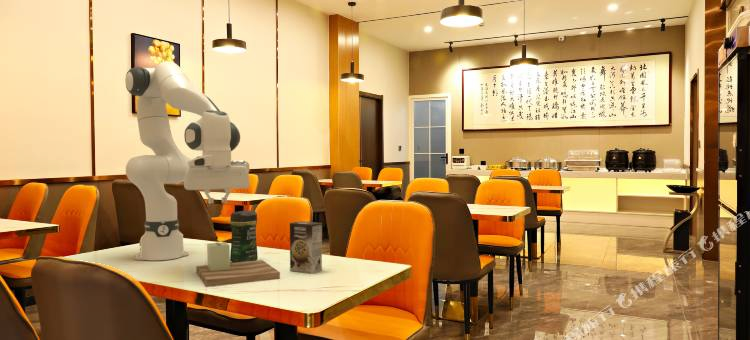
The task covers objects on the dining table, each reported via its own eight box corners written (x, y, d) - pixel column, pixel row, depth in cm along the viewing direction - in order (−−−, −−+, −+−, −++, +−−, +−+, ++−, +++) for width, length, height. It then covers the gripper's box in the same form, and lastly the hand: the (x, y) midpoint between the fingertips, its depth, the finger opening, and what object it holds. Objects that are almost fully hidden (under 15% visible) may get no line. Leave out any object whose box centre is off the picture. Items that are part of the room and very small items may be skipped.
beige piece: (207, 267, 171) (207, 243, 170) (226, 265, 173) (225, 241, 173) (210, 271, 165) (210, 245, 165) (229, 269, 168) (229, 244, 168)
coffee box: (289, 271, 173) (288, 222, 173) (300, 267, 179) (300, 220, 179) (311, 273, 169) (311, 224, 169) (322, 270, 175) (322, 222, 174)
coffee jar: (242, 265, 184) (242, 212, 183) (226, 263, 188) (225, 211, 187) (261, 260, 192) (261, 210, 192) (246, 258, 196) (245, 209, 196)
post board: (196, 272, 173) (196, 248, 173) (262, 265, 183) (261, 242, 183) (206, 286, 153) (206, 259, 153) (279, 278, 163) (279, 252, 163)
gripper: (247, 160, 176) (247, 201, 176) (182, 160, 167) (183, 204, 167) (251, 160, 170) (252, 202, 171) (185, 160, 161) (186, 205, 162)
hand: (217, 203), depth 169 cm, fingers open, 3 cm apart
